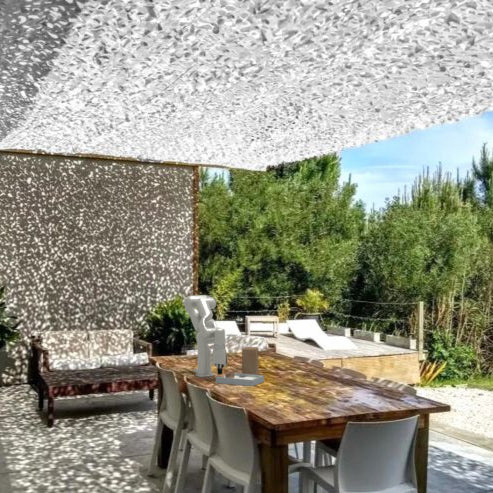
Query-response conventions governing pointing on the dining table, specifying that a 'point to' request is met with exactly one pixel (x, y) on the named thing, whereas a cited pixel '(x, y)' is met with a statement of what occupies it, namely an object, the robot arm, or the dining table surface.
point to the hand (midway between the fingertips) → (219, 374)
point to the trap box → (241, 379)
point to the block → (250, 360)
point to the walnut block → (229, 375)
